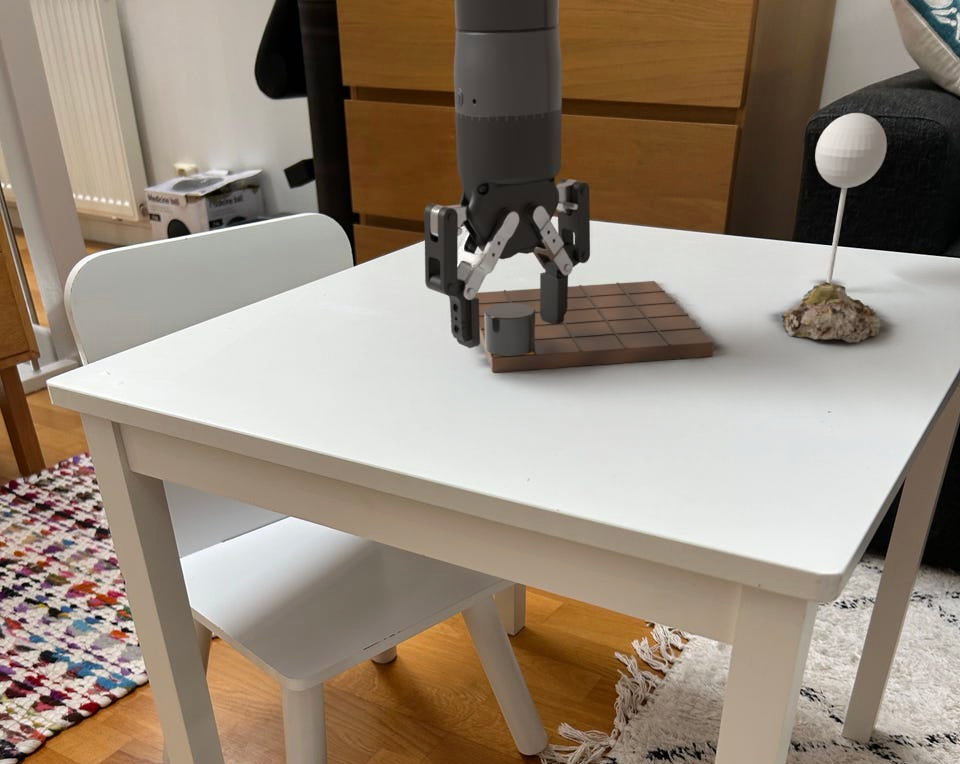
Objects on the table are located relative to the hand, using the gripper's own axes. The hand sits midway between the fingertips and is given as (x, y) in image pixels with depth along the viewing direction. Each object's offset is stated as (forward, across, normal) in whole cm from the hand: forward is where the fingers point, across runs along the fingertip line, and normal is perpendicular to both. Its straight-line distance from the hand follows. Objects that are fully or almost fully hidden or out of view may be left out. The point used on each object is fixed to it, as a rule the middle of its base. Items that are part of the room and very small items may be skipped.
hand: (511, 333), depth 79 cm
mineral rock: (+3, +26, -11) cm, 28 cm away
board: (+2, +10, +3) cm, 10 cm away
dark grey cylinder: (+1, 0, 0) cm, 1 cm away
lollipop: (+3, +34, -5) cm, 35 cm away
